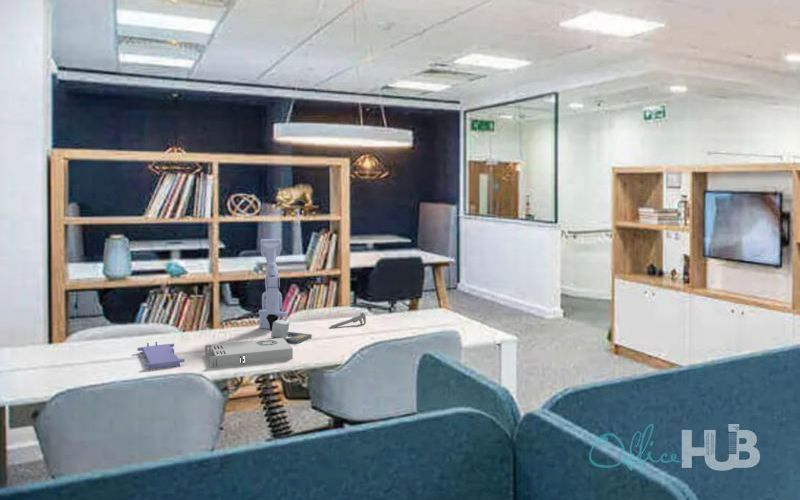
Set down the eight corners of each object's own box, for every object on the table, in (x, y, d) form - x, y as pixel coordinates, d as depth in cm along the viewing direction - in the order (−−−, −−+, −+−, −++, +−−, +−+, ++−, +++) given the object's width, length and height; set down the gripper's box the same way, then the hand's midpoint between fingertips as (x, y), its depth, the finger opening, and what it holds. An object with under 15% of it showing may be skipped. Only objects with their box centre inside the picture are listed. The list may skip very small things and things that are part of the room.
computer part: (173, 348, 282) (136, 352, 275) (173, 339, 282) (136, 343, 275) (185, 366, 256) (145, 371, 249) (184, 355, 255) (144, 360, 248)
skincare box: (282, 339, 296) (285, 324, 295) (270, 337, 297) (272, 321, 296) (287, 336, 302) (289, 321, 301) (275, 334, 303) (277, 319, 302)
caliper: (364, 323, 329) (364, 311, 328) (365, 324, 328) (365, 312, 328) (328, 328, 319) (328, 316, 318) (329, 329, 318) (329, 316, 317)
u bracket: (272, 340, 294) (272, 337, 294) (287, 334, 305) (287, 331, 305) (297, 343, 289) (297, 340, 289) (311, 337, 300) (311, 334, 299)
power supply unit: (205, 356, 270) (204, 344, 270) (283, 348, 283) (282, 337, 282) (210, 369, 253) (209, 356, 252) (292, 360, 265) (292, 348, 265)
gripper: (254, 302, 298) (255, 330, 300) (280, 304, 292) (280, 334, 294) (263, 299, 305) (264, 327, 306) (289, 302, 299) (289, 331, 300)
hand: (272, 330), depth 300 cm, fingers closed, pressing on skincare box
